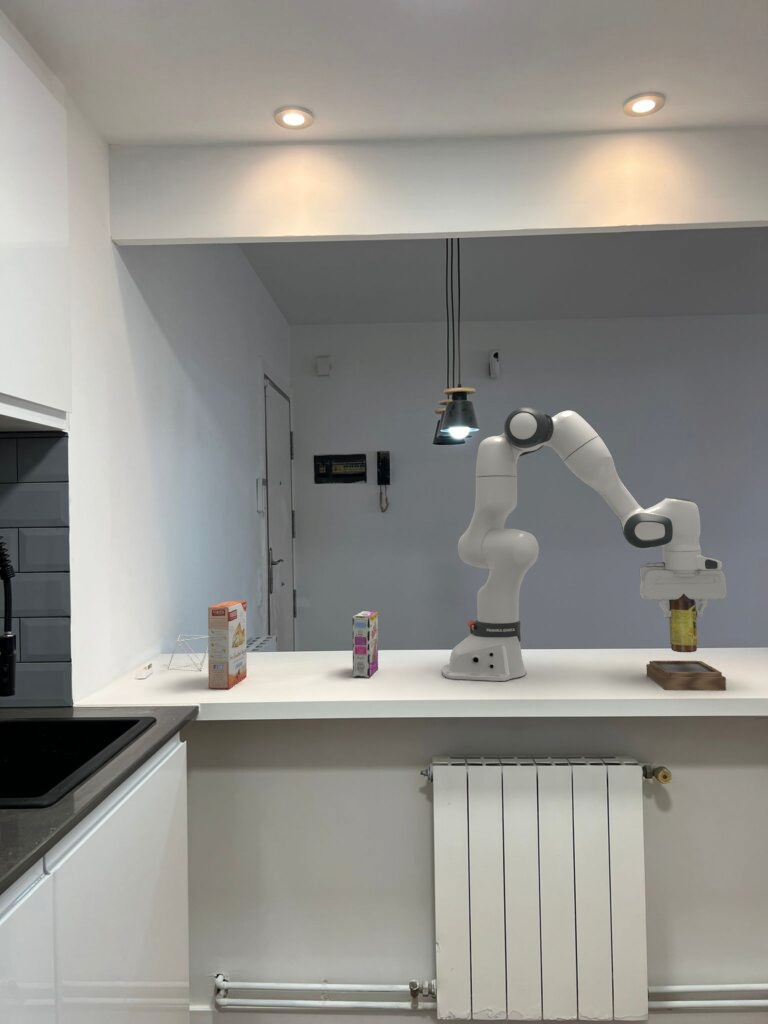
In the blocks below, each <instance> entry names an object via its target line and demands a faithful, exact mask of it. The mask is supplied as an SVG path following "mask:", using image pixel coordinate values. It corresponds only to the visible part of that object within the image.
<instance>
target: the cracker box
mask: <svg viewBox="0 0 768 1024" xmlns="http://www.w3.org/2000/svg"><path fill="white" fill-rule="evenodd" d="M207 609H208V610H207V613H208V616H207V617H208V618H207V621H208V622H207V629H208V630H207V633H208V635H207V636H208V637H207V639H208V644H207V647H208V651H207V653H208V654H207V655H208V656H207V657H208V659H207V660H208V663H207V664H208V667H207V669H208V671H207V672H208V673H207V674H208V675H207V676H208V677H207V678H208V681H207V682H208V689H212V690H213V689H214V690H218V689H219V690H230V689H231V688H232V687H234V686H235V685H237V684H238V683H240V682H241V681H242V680H244V679H245V678H247V677H248V674H247V671H248V669H247V663H248V662H247V656H248V655H247V601H246V600H226V601H223V602H221V603H219V602H218V603H216V604H213V605H210V606H208V608H207Z"/></svg>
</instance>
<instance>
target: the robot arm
mask: <svg viewBox="0 0 768 1024" xmlns="http://www.w3.org/2000/svg"><path fill="white" fill-rule="evenodd" d="M544 446H546V447H550V448H551V449H553V450H554V452H556V454H557V455H558V456H559V457H560V459H561V461H563V462H564V464H565V466H566V467H567V468H568V469H569V471H571V472H572V474H574V476H576V477H577V479H579V480H580V481H582V482H583V483H585V484H586V485H587V486H589V487H591V488H592V489H593V490H594V491H596V492H597V493H598V494H599V495H600V496H601V497H602V498H603V500H604V501H605V502H606V504H608V506H609V507H610V509H611V510H612V512H613V513H614V514H615V515H616V517H617V518H618V520H619V522H620V524H621V525H620V526H621V529H622V535H623V537H624V539H625V541H626V542H627V543H628V544H629V545H630V546H632V547H634V548H636V549H639V550H649V549H652V548H657V547H661V548H662V561H661V562H658V561H657V562H645V563H644V564H642V565H641V566H640V568H639V573H638V575H639V579H640V585H639V595H640V597H641V598H642V599H644V600H645V601H654V600H655V601H658V602H657V603H658V605H659V606H660V608H661V609H662V612H663V613H662V614H663V618H664V619H665V618H666V619H667V618H668V619H669V618H671V617H672V615H671V614H672V612H671V611H670V610H669V609H668V608H667V606H666V605H667V602H668V601H669V600H676V599H679V598H680V597H681V596H682V595H683V594H685V595H686V596H687V597H688V598H689V599H694V600H697V601H698V603H699V606H698V608H697V609H696V618H703V617H704V612H703V611H704V610H705V608H706V606H707V605H708V600H723V599H725V598H726V596H727V593H728V592H727V582H726V581H727V580H726V576H725V574H724V572H723V571H722V570H721V569H722V568H723V563H722V561H720V560H718V559H714V558H711V557H709V556H706V555H702V547H701V545H700V536H701V517H700V511H699V507H698V505H697V504H696V502H695V501H693V500H691V499H687V498H682V497H681V498H680V497H675V496H674V497H673V496H672V497H671V496H670V497H669V496H668V497H665V498H664V499H663V500H662V501H660V502H658V503H657V504H654V505H653V506H651V507H648V508H646V509H645V508H644V507H643V506H641V505H640V504H639V503H638V501H637V500H636V499H635V498H634V496H633V495H632V494H631V493H630V491H629V490H628V489H627V488H626V486H625V485H624V483H623V482H622V480H621V479H620V477H619V474H618V472H617V469H616V466H615V461H614V459H613V456H612V454H611V452H610V450H609V449H608V447H607V445H606V443H605V442H604V440H603V439H602V438H601V436H600V435H599V434H598V433H597V432H596V431H595V429H594V428H593V427H592V425H590V424H589V423H588V422H587V420H586V419H584V418H583V417H582V416H581V415H580V414H578V413H577V412H576V411H574V410H564V411H561V412H559V413H556V414H555V415H554V416H551V415H550V414H548V413H545V412H543V411H540V410H538V409H535V408H533V407H528V406H527V407H526V406H525V407H524V406H523V407H519V408H518V407H517V408H516V409H514V410H512V411H511V412H509V414H508V416H507V417H506V419H505V421H504V426H503V432H502V434H500V435H492V436H489V437H486V438H485V439H483V440H482V441H481V442H480V444H479V445H478V450H477V455H476V463H475V465H476V467H475V505H474V509H473V510H474V511H473V514H472V518H471V520H470V524H469V525H468V528H467V529H466V530H465V531H464V533H462V535H461V536H460V538H459V539H458V543H457V553H458V556H459V558H460V560H461V561H462V562H463V563H465V564H467V565H470V566H472V567H474V568H479V569H488V570H489V572H488V573H489V574H488V577H487V580H486V582H485V584H484V585H482V586H481V587H480V588H479V590H478V591H477V593H476V602H477V603H476V605H477V607H476V608H477V613H476V614H477V616H476V617H477V619H476V620H475V621H474V620H473V619H471V620H469V621H468V622H467V627H468V628H469V632H470V634H469V635H468V636H467V637H465V638H464V639H463V640H462V641H461V642H459V643H458V644H457V645H455V646H454V647H453V649H452V651H451V653H450V657H449V663H448V664H444V665H443V666H442V668H441V674H442V676H443V677H444V678H447V679H451V680H452V679H453V680H473V681H494V682H507V681H508V680H511V679H516V678H520V677H523V676H526V674H527V670H526V668H525V663H524V661H523V656H522V649H521V641H522V624H521V620H520V615H519V614H520V610H519V609H520V608H519V607H520V590H521V587H522V583H523V581H524V577H525V575H526V574H527V572H528V571H529V569H530V568H531V567H532V566H534V565H535V563H536V562H537V560H538V558H539V553H540V547H539V546H540V545H539V543H538V540H537V538H536V537H535V535H533V534H532V533H531V532H528V531H524V530H521V529H518V528H505V524H506V521H507V518H508V516H509V515H510V514H511V513H512V512H513V511H514V510H515V508H516V507H517V505H518V461H519V458H520V457H523V456H525V455H528V454H532V453H535V452H537V451H539V450H540V449H542V448H543V447H544Z"/></svg>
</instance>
